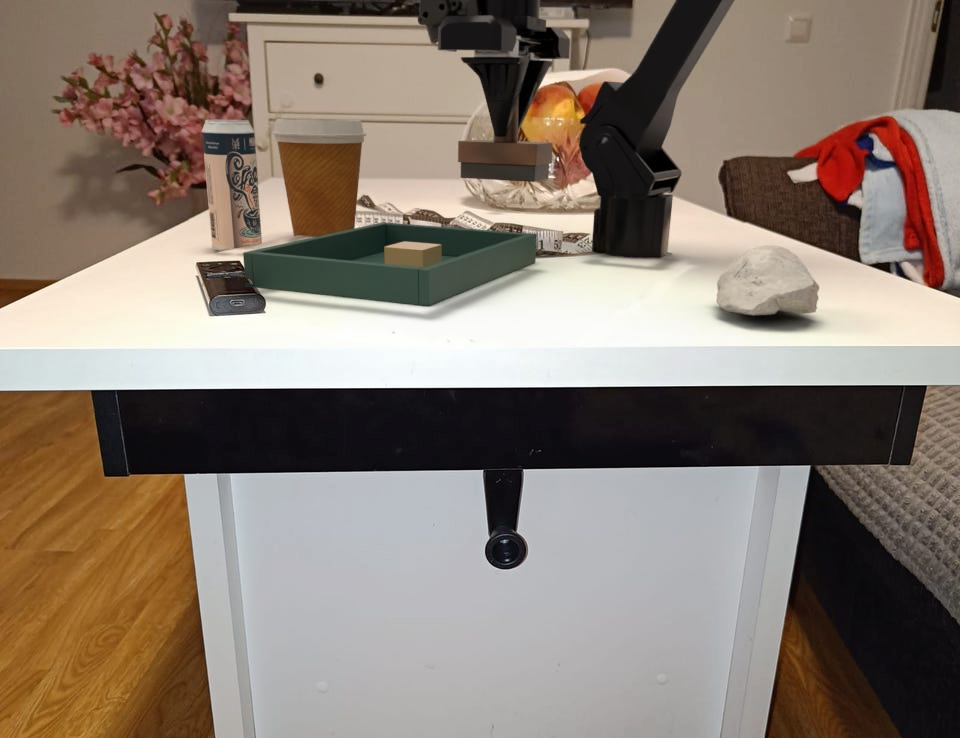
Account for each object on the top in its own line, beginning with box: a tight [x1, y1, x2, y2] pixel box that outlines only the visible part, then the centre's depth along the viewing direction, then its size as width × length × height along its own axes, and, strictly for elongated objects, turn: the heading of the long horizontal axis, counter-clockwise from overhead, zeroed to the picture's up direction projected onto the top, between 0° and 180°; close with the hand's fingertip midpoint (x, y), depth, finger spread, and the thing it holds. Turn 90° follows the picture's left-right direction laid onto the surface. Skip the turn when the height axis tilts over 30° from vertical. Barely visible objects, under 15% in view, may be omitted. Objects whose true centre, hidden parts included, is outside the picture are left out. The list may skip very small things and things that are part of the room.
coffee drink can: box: [201, 119, 263, 253], centre depth 89 cm, size 5×5×12 cm
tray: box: [242, 221, 537, 308], centre depth 77 cm, size 16×22×3 cm
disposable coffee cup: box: [271, 118, 367, 238], centre depth 97 cm, size 10×10×12 cm
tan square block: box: [384, 241, 442, 268], centre depth 78 cm, size 4×4×2 cm
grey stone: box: [716, 244, 820, 317], centre depth 67 cm, size 9×8×5 cm
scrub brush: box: [457, 97, 554, 183], centre depth 92 cm, size 8×4×8 cm, turn 65°
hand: (506, 136), depth 92 cm, fingers closed on scrub brush, 2 cm apart
